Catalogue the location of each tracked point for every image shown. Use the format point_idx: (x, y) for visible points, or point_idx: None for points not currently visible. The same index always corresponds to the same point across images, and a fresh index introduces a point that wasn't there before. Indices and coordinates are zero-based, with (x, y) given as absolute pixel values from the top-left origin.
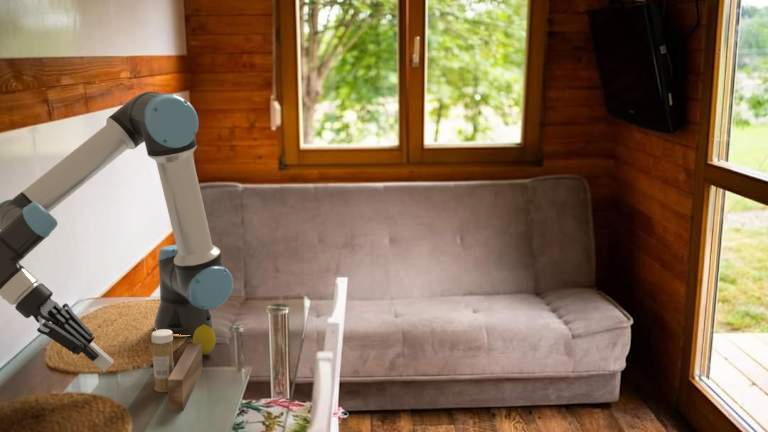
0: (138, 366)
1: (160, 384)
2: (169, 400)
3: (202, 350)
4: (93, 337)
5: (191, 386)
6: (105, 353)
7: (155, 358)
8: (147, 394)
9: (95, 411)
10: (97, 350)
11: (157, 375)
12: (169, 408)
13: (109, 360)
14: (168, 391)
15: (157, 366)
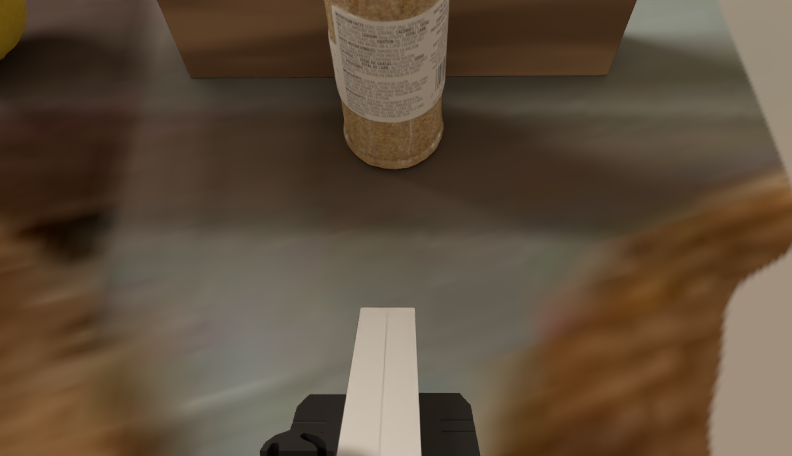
0: (75, 326)
1: (439, 109)
2: (620, 36)
3: (24, 21)
4: (298, 441)
5: None
6: (362, 350)
7: (441, 10)
8: (458, 190)
9: (702, 390)
10: (415, 391)
11: (440, 85)
12: (609, 66)
13: (409, 321)
14: (634, 1)
15: (444, 42)
